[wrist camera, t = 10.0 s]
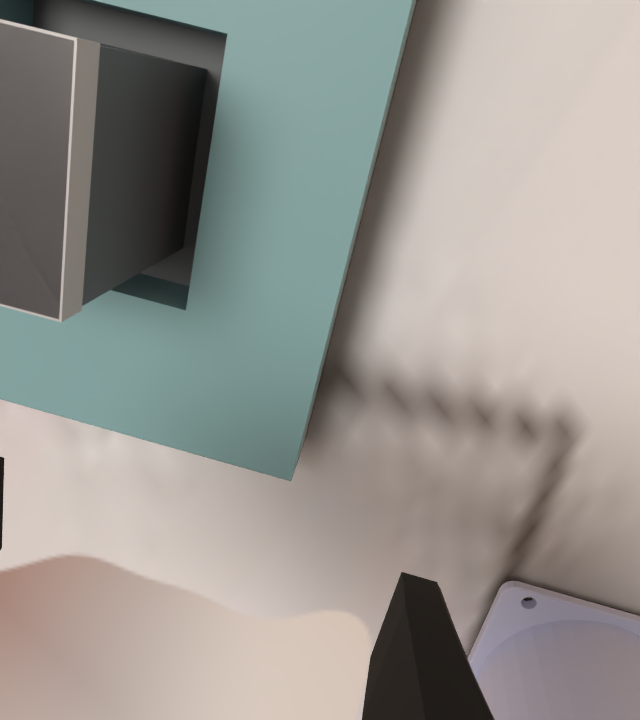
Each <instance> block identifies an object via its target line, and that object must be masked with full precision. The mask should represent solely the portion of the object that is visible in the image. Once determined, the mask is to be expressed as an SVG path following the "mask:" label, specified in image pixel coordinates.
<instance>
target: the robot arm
mask: <svg viewBox="0 0 640 720" xmlns="http://www.w3.org/2000/svg"><path fill="white" fill-rule="evenodd" d="M3 481H4V458H3V457H0V550H1V549H2V519H3ZM527 597H532V598H533V599H532V600H530V601H524V600H523V599H524V598H527ZM362 720H640V616H638V615H634V614H631V613H627V612H624V611H620V610H617V609H613V608H610V607H606V606H603V605H599V604H596V603H592V602H589V601H585V600H582V599H578V598H575V597H571V596H568V595H564V594H561V593H557V592H554V591H550V590H547V589H543V588H540V587H536V586H533V585H529V584H526V583H522V582H519V581H508V582H506V583H504V584H502V586H501V587H500V588H499V591H498V593H497V595H496V597H495V599H494V602H493V604H492V606H491V608H490V610H489V613H488V615H487V617H486V619H485V621H484V624H483V626H482V628H481V630H480V632H479V635H478V637H477V639H476V641H475V643H474V645H473V648H472V650H471V652H470V654H469V656H468V659H467V657H466V654H465V652H464V650H463V647H462V645H461V642H460V640H459V637H458V635H457V632H456V630H455V627H454V624H453V622H452V619H451V616H450V614H449V611H448V608H447V606H446V603H445V600H444V597H443V595H442V592H441V589H440V587H439V585H438V584H437V582H435V581H431V580H428V579H424V578H421V577H417V576H414V575H410V574H407V573H403V572H401V575H400V578H399V581H398V583H397V586H396V589H395V592H394V594H393V597H392V600H391V602H390V605H389V608H388V611H387V613H386V616H385V619H384V622H383V624H382V627H381V630H380V633H379V635H378V638H377V641H376V643H375V646H374V649H373V652H372V654H371V658H370V665H369V672H368V679H367V686H366V693H365V701H364V708H363V716H362Z"/></svg>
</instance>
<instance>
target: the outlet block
mask: <svg viewBox="0 0 640 720" xmlns="http://www.w3.org/2000/svg"><path fill="white" fill-rule="evenodd" d="M416 3H417V0H0V19H3V20H7V21H11V22H16V23H20V24H24V25H28V26H32V27H36V28H40V29H44V30H48V31H53V32H57V33H61V34H65V35H69V36H73V37H77V38H82V39H86V40H90V41H94V42H98V43H102V44H106V45H110V46H114V47H119V48H123V49H127V50H131V51H135V52H139V53H143V54H147V55H151V56H156V57H160V58H164V59H168V60H172V61H176V62H180V63H184V64H188V65H193V66H197V67H201V68H205V69H207V74H206V81H205V89H204V96H203V104H202V111H201V119H200V126H199V133H198V141H197V148H196V156H195V163H194V171H193V178H192V186H191V193H190V201H189V208H188V216H187V223H186V231H185V238H184V245H183V248H182V249H181V250H179V251H177V252H175V253H174V254H172V255H170V256H168V257H167V258H165V259H163V260H161V261H160V262H158V263H156V264H155V265H153V266H151V267H149V268H148V269H146V270H144V271H142V272H141V273H139V274H137V275H135V276H134V277H132V278H130V279H129V280H127V281H125V282H123V283H122V284H120V285H118V286H116V287H115V288H113V289H111V290H109V291H108V292H106V293H104V294H102V295H101V296H99V297H97V298H96V299H94V300H92V301H90V302H89V303H87V304H85V305H83V306H82V311H80V312H78V313H77V314H75V315H73V316H72V317H70V318H68V319H66V320H65V321H63V322H58V321H54V320H50V319H47V318H43V317H39V316H36V315H32V314H28V313H24V312H21V311H17V310H13V309H9V308H6V307H2V306H0V399H1V400H5V401H9V402H12V403H16V404H19V405H23V406H26V407H30V408H33V409H37V410H40V411H44V412H48V413H51V414H55V415H58V416H62V417H65V418H69V419H72V420H76V421H79V422H83V423H86V424H90V425H94V426H97V427H101V428H104V429H108V430H111V431H115V432H118V433H122V434H125V435H129V436H132V437H136V438H140V439H143V440H147V441H150V442H154V443H157V444H161V445H164V446H168V447H171V448H175V449H178V450H182V451H186V452H189V453H193V454H196V455H200V456H203V457H207V458H210V459H214V460H217V461H221V462H225V463H228V464H232V465H235V466H239V467H242V468H246V469H249V470H253V471H256V472H260V473H263V474H267V475H271V476H274V477H278V478H281V479H285V480H288V481H291V479H292V477H293V474H294V471H295V468H296V465H297V462H298V459H299V456H300V453H301V450H302V447H303V444H304V441H305V438H306V434H307V430H308V426H309V422H310V418H311V414H312V410H313V406H314V402H315V398H316V394H317V391H318V387H319V383H320V379H321V375H322V371H323V367H324V363H325V359H326V355H327V351H328V347H329V344H330V340H331V336H332V332H333V328H334V324H335V320H336V316H337V312H338V308H339V304H340V300H341V297H342V293H343V289H344V285H345V281H346V277H347V273H348V269H349V265H350V261H351V257H352V253H353V250H354V246H355V242H356V238H357V234H358V230H359V226H360V222H361V218H362V214H363V210H364V206H365V203H366V199H367V195H368V191H369V187H370V183H371V179H372V175H373V171H374V167H375V163H376V160H377V156H378V152H379V148H380V144H381V140H382V136H383V132H384V128H385V124H386V120H387V116H388V113H389V109H390V105H391V101H392V97H393V93H394V89H395V85H396V81H397V77H398V73H399V69H400V66H401V62H402V58H403V54H404V50H405V46H406V42H407V38H408V34H409V30H410V26H411V22H412V19H413V15H414V11H415V7H416Z"/></svg>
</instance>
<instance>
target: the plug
mask: <svg viewBox="0 0 640 720" xmlns="http://www.w3.org/2000/svg"><path fill="white" fill-rule="evenodd" d="M206 74H207V69H205V68H201V67H197V66H193V65H188V64H184V63H180V62H176V61H172V60H168V59H164V58H160V57H156V56H151V55H147V54H143V53H139V52H135V51H131V50H127V49H123V48H119V47H114V46H110V45H106V44H102V43H98V42H94V41H90V40H86V39H82V38H77V37H73V36H69V35H65V34H61V33H57V32H53V31H48V30H44V29H40V28H36V27H32V26H28V25H24V24H20V23H16V22H11V21H7V20H3V19H0V306H2V307H6V308H9V309H13V310H17V311H21V312H24V313H28V314H32V315H36V316H39V317H43V318H47V319H50V320H54V321H58V322H63V321H65V320H66V319H68V318H70V317H72V316H73V315H75V314H77V313H78V312H80V311H82V306H83V305H85V304H87V303H89V302H90V301H92V300H94V299H96V298H97V297H99V296H101V295H102V294H104V293H106V292H108V291H109V290H111V289H113V288H115V287H116V286H118V285H120V284H122V283H123V282H125V281H127V280H129V279H130V278H132V277H134V276H135V275H137V274H139V273H141V272H142V271H144V270H146V269H148V268H149V267H151V266H153V265H155V264H156V263H158V262H160V261H161V260H163V259H165V258H167V257H168V256H170V255H172V254H174V253H175V252H177V251H179V250H181V249H182V248H183V245H184V238H185V231H186V223H187V216H188V208H189V201H190V193H191V186H192V178H193V171H194V163H195V156H196V148H197V141H198V133H199V126H200V119H201V111H202V104H203V96H204V89H205V81H206Z"/></svg>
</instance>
